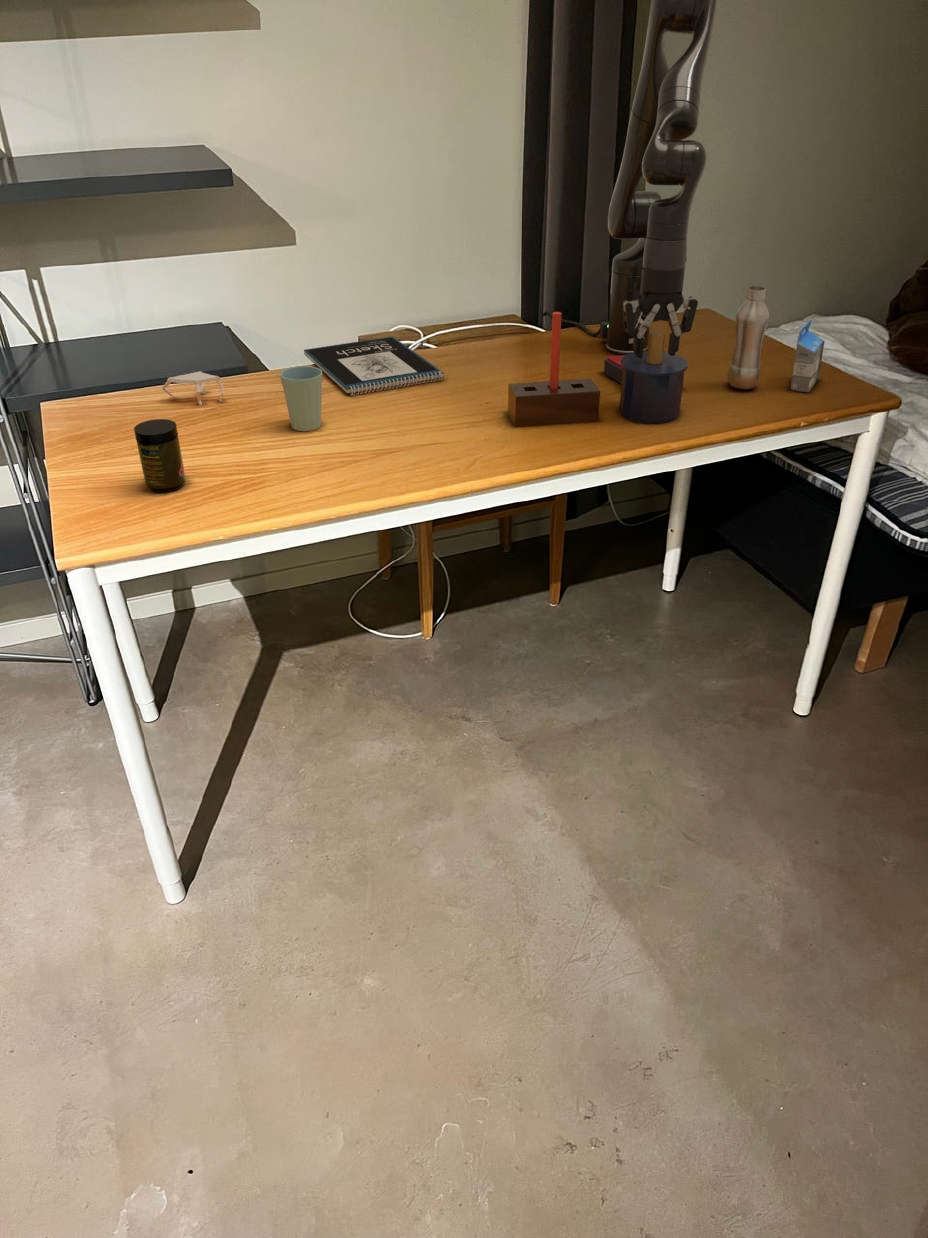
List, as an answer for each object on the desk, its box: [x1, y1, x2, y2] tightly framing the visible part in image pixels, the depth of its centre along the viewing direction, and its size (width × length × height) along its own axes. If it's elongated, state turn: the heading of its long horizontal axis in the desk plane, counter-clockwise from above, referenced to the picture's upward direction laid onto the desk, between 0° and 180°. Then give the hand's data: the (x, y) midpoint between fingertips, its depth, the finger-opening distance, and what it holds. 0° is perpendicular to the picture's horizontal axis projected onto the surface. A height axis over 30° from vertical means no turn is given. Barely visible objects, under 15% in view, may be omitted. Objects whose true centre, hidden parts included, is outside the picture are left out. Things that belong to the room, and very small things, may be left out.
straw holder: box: [507, 378, 601, 428], centre depth 189 cm, size 7×16×6 cm, turn 99°
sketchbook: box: [303, 336, 445, 396], centre depth 215 cm, size 22×30×2 cm
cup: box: [279, 365, 323, 432], centre depth 185 cm, size 8×8×10 cm
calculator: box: [603, 354, 685, 390], centre depth 206 cm, size 11×4×15 cm
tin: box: [618, 368, 685, 425], centre depth 190 cm, size 11×11×10 cm
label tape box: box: [790, 318, 825, 393], centre depth 201 cm, size 9×4×12 cm, turn 150°
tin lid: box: [620, 330, 689, 376], centre depth 186 cm, size 13×13×7 cm
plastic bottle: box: [727, 285, 770, 390], centre depth 198 cm, size 6×7×20 cm
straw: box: [549, 311, 562, 390], centre depth 185 cm, size 2×2×20 cm
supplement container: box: [133, 418, 187, 493], centre depth 164 cm, size 7×7×10 cm
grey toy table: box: [161, 370, 226, 406], centre depth 199 cm, size 12×8×5 cm
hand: (654, 355), depth 186 cm, fingers open, 5 cm apart
